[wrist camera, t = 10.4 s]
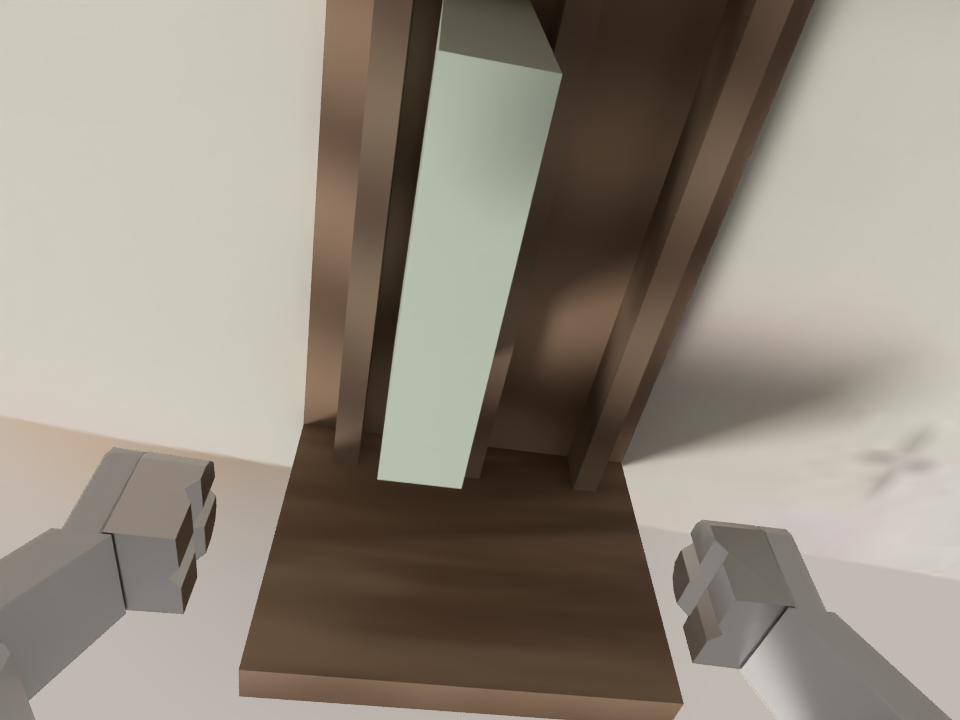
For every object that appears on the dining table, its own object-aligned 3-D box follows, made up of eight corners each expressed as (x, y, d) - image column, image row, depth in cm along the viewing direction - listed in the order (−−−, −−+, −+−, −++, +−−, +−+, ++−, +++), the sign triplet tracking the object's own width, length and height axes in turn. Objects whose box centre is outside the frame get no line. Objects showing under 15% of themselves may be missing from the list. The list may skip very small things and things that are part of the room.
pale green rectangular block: (445, -18, 20) (438, 50, 14) (530, 0, 21) (562, 74, 14) (396, 327, 27) (377, 479, 21) (460, 336, 28) (461, 488, 21)
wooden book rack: (353, -379, 17) (206, -677, 7) (894, -236, 18) (1372, -316, 9) (306, 434, 32) (239, 696, 22) (607, 470, 34) (668, 726, 24)
